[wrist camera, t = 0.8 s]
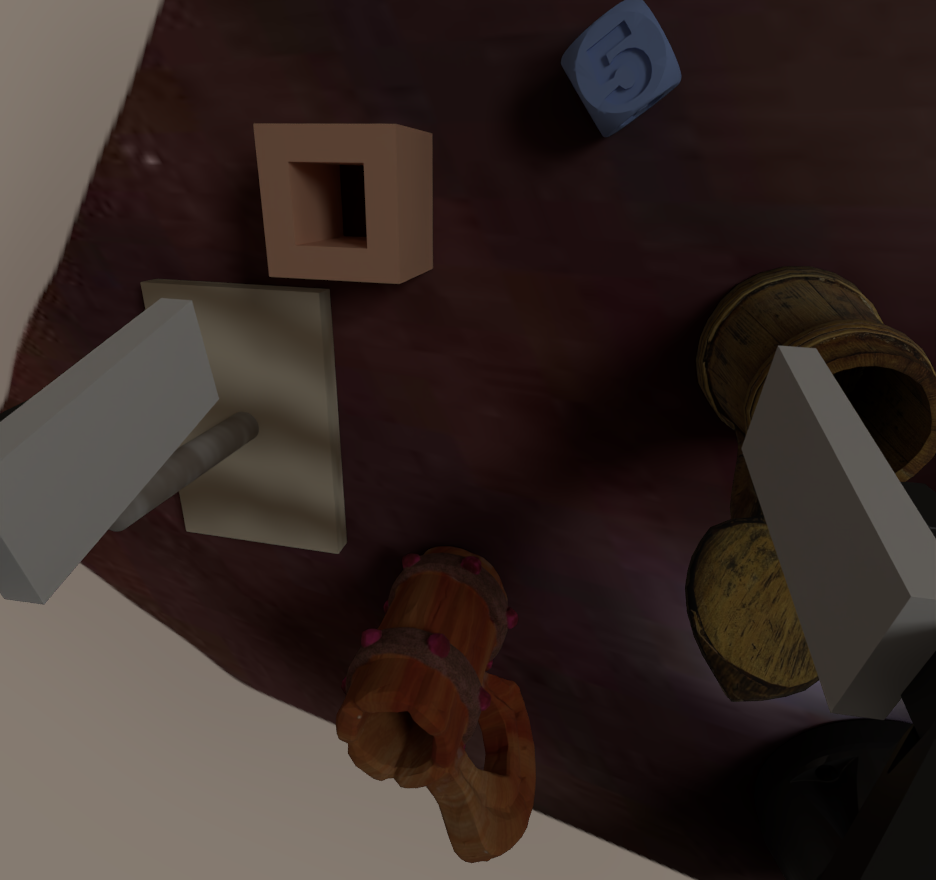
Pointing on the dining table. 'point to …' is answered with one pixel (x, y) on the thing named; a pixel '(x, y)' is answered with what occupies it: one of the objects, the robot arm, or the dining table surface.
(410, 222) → the bead
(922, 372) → the wooden mug
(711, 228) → the dining table surface
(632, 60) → the decorative dice
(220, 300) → the peg stand
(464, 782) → the mug
